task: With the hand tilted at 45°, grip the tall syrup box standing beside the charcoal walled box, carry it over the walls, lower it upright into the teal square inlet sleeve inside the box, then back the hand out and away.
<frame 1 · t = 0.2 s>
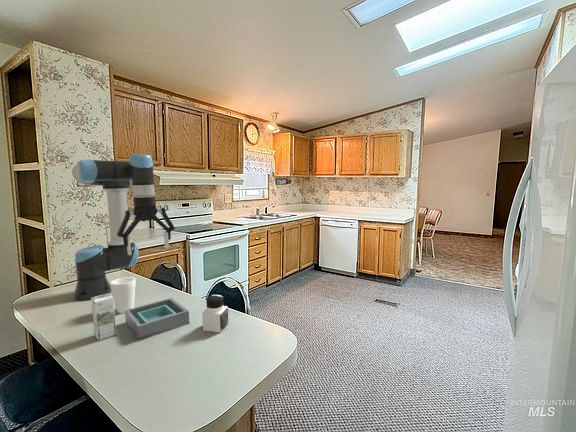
hand: (149, 251, 116), 28 cm above the breakfast bar, tool pointing down, fingers open, 13 cm apart
syrup box: (105, 336, 107), on the breakfast bar
foam cup: (125, 310, 129), on the breakfast bar
walled box: (157, 322, 116), on the breakfast bar
medicine bottle: (216, 327, 112), on the breakfast bar
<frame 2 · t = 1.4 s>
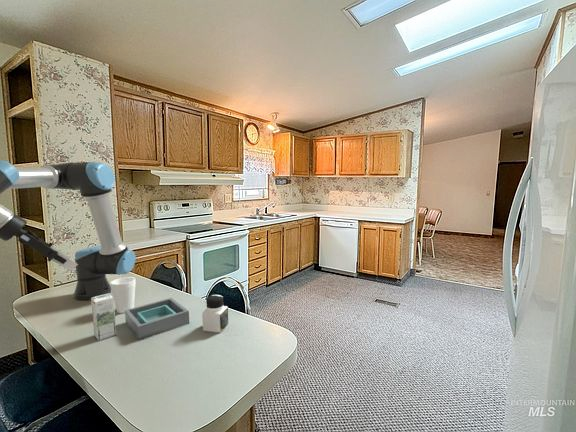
hand: (70, 263, 99), 28 cm above the breakfast bar, tool tilted 45°, fingers open, 13 cm apart
nothing on the breakfast bar moved.
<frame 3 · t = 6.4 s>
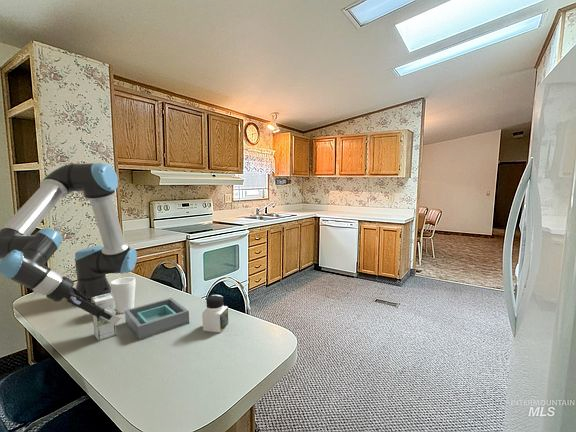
hand: (115, 318, 109), 5 cm above the breakfast bar, tool tilted 45°, fingers closed on syrup box, 6 cm apart
syrup box: (105, 336, 107), on the breakfast bar, touching gripper
everything else where it was.
when the fingers open (8 cm above the breakfast bar, at t = 13.3 s): syrup box drops 1 cm, resting on walled box.
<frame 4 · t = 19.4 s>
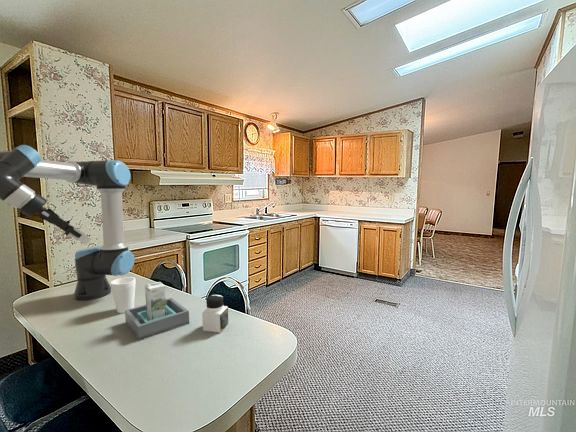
hand: (85, 239, 111), 34 cm above the breakfast bar, tool tilted 45°, fingers open, 13 cm apart
syrup box: (157, 321, 116), point 1 cm above the breakfast bar, touching walled box
everything else where it was.
at the end: syrup box 0.2 cm off-centre on the walled box, point 0.8 cm above the walled box's base; syrup box tilted 0°; the gripper is holding nothing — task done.
